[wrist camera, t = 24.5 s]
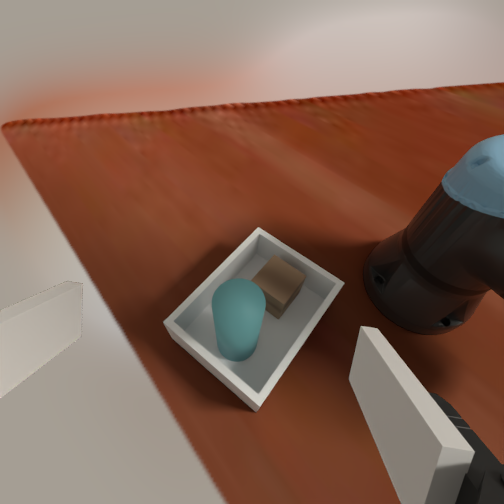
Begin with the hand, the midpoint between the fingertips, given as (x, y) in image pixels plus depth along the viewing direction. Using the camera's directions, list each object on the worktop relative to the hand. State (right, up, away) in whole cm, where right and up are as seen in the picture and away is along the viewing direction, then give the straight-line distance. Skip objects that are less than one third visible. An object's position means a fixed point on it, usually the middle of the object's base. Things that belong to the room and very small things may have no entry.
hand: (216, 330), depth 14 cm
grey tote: (+2, -5, +26) cm, 27 cm away
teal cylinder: (0, -8, +24) cm, 25 cm away
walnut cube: (+5, -2, +27) cm, 28 cm away
